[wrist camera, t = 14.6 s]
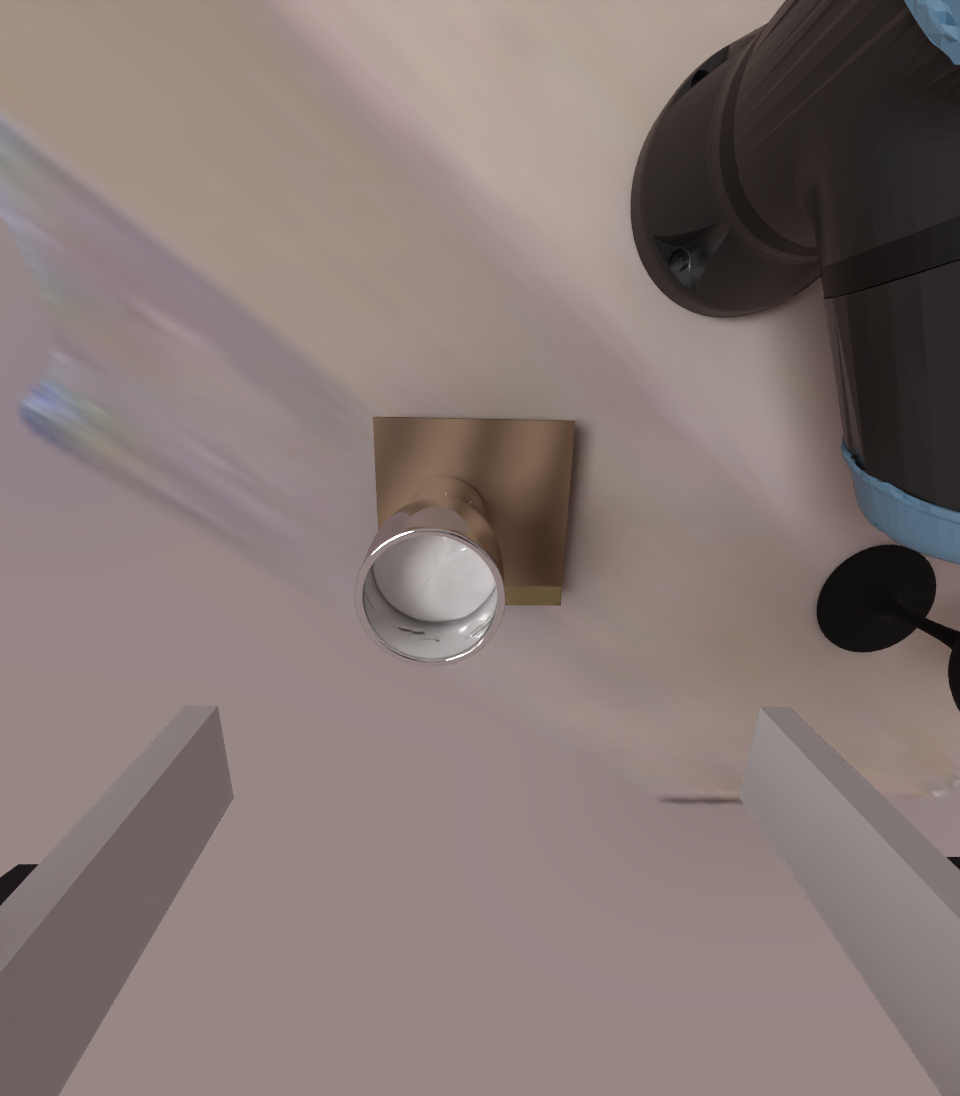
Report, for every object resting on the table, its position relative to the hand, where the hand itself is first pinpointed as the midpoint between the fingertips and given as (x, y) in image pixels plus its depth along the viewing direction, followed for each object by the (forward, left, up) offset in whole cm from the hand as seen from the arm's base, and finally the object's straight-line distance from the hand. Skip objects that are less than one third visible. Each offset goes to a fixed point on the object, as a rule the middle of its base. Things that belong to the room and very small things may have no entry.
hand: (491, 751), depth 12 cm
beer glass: (+2, 0, -24) cm, 25 cm away
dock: (0, 0, -28) cm, 28 cm away
